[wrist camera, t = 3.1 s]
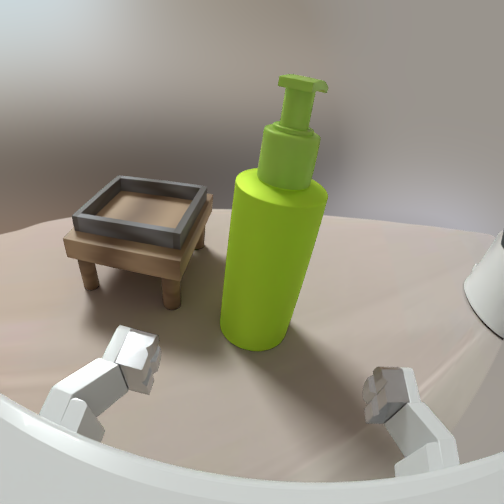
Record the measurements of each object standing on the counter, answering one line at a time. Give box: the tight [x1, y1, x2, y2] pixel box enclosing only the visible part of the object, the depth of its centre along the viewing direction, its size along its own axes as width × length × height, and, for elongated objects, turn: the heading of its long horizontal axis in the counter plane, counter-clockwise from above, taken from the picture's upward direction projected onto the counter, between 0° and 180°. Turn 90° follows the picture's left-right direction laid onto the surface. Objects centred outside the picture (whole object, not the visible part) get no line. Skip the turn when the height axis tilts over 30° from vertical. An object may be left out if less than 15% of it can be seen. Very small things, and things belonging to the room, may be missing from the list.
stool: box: [63, 175, 213, 310], centre depth 29 cm, size 11×12×8 cm
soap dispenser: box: [220, 74, 328, 351], centre depth 21 cm, size 6×7×20 cm
